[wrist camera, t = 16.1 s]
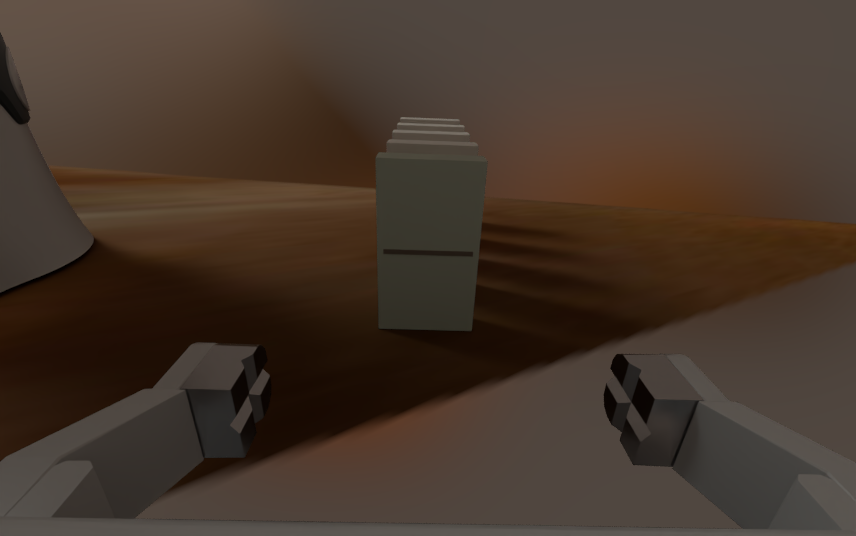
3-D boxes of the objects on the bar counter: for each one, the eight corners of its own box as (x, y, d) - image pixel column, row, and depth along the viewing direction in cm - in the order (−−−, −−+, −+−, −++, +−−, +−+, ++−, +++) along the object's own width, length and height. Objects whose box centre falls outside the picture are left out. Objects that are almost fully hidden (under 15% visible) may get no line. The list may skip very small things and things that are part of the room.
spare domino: (471, 331, 22) (487, 161, 19) (378, 329, 22) (375, 157, 19) (469, 316, 24) (483, 155, 20) (381, 314, 24) (378, 152, 20)
